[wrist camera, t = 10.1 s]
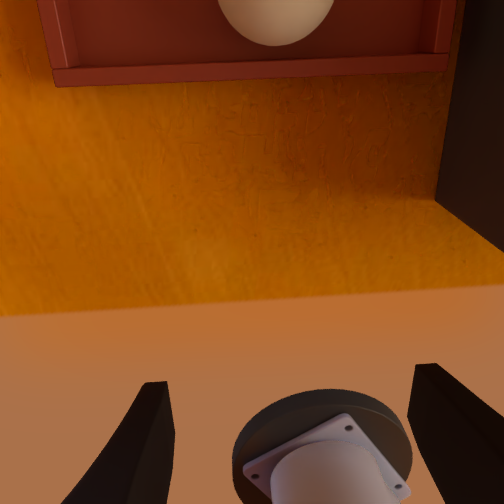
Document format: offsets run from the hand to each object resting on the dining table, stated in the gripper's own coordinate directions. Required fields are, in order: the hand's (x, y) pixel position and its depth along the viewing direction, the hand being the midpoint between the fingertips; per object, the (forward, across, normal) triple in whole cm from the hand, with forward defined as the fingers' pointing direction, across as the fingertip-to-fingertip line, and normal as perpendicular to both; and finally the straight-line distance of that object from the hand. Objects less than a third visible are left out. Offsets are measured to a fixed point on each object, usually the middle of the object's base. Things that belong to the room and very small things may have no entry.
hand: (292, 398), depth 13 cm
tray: (+9, 0, -30) cm, 31 cm away
